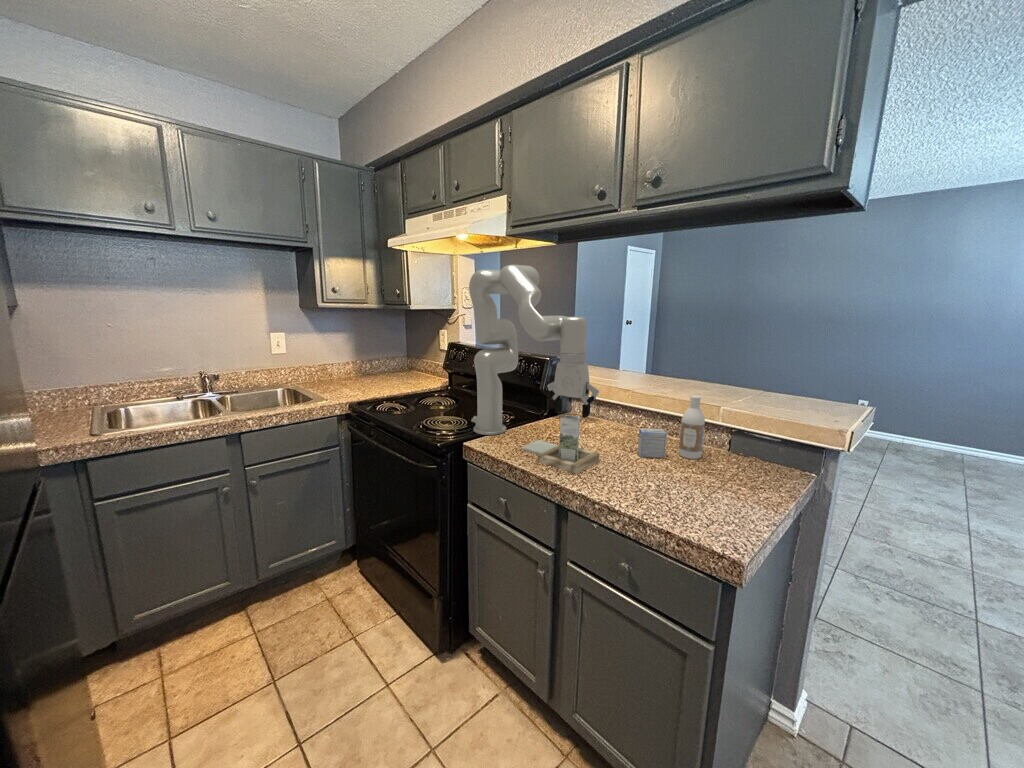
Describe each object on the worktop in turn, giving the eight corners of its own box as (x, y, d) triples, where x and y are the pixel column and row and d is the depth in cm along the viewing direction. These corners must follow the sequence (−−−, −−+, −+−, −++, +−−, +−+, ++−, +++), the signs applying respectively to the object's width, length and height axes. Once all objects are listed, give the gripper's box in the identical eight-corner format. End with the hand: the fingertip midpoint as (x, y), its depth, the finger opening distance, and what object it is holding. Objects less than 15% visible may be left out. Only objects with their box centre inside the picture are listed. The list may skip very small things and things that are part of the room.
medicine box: (661, 453, 139) (663, 428, 138) (664, 458, 135) (667, 433, 133) (637, 452, 140) (638, 427, 138) (639, 457, 136) (641, 432, 134)
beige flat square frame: (537, 462, 130) (537, 455, 130) (561, 450, 141) (561, 443, 141) (576, 474, 122) (577, 466, 121) (599, 460, 133) (599, 453, 132)
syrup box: (578, 459, 134) (580, 415, 131) (576, 466, 128) (578, 420, 125) (560, 457, 135) (561, 414, 132) (558, 464, 129) (559, 419, 126)
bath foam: (675, 456, 137) (681, 396, 133) (681, 450, 142) (686, 393, 138) (698, 461, 133) (704, 400, 129) (703, 455, 138) (709, 396, 134)
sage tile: (520, 449, 142) (521, 447, 142) (537, 442, 149) (538, 439, 149) (545, 456, 136) (545, 454, 136) (561, 448, 143) (562, 446, 143)
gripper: (541, 357, 127) (541, 412, 130) (592, 362, 117) (591, 421, 120) (555, 355, 133) (554, 407, 136) (605, 359, 122) (603, 416, 126)
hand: (571, 414), depth 128 cm, fingers open, 9 cm apart
